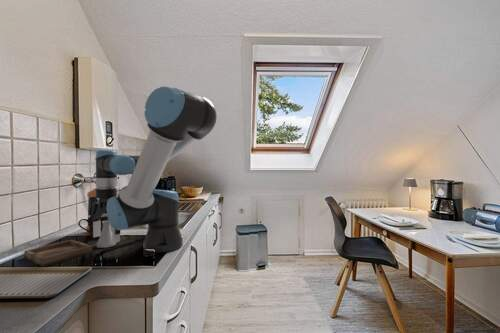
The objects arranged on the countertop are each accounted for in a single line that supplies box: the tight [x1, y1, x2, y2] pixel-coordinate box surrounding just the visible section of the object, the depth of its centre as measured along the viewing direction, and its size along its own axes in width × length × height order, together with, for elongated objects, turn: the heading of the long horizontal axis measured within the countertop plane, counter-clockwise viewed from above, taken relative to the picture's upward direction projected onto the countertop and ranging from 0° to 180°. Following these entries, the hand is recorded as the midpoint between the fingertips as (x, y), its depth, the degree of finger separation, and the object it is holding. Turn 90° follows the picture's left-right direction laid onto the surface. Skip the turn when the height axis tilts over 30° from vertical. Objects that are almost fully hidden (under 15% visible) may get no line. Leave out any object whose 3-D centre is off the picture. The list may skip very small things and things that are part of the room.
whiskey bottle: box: [85, 187, 112, 236], centre depth 121 cm, size 10×10×32 cm
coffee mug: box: [77, 213, 109, 241], centre depth 112 cm, size 12×9×10 cm
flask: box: [96, 220, 117, 249], centre depth 102 cm, size 7×7×10 cm
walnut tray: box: [23, 239, 93, 268], centre depth 91 cm, size 15×15×2 cm
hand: (106, 239), depth 102 cm, fingers open, 13 cm apart
